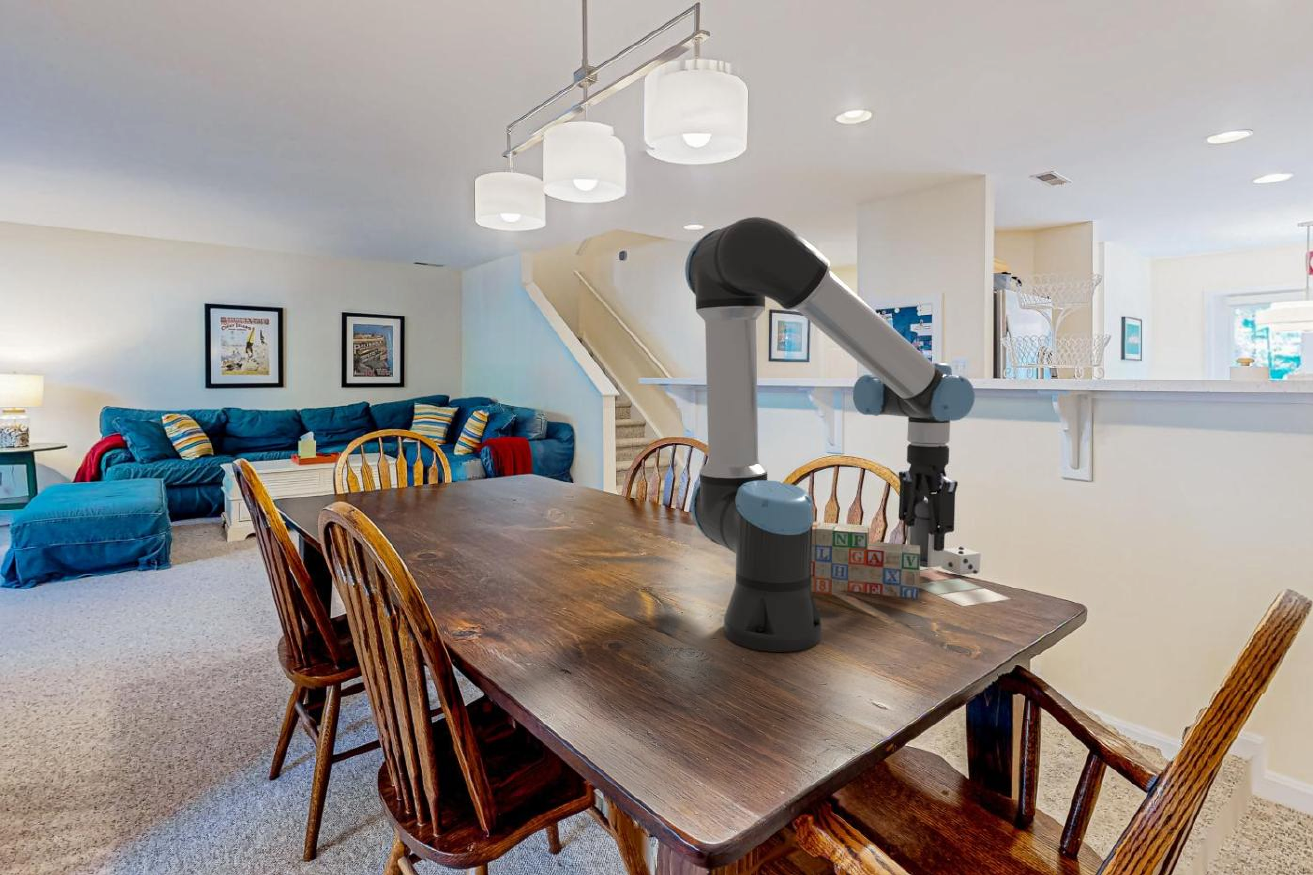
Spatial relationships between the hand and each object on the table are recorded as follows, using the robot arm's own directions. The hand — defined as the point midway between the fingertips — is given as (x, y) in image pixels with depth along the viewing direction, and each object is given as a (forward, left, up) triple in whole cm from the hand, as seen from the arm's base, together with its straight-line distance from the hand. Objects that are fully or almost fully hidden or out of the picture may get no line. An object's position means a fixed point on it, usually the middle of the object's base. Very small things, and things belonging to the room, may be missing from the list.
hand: (923, 561), depth 136 cm
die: (+10, +1, -4) cm, 11 cm away
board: (0, -3, -4) cm, 5 cm away
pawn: (0, 0, 0) cm, 0 cm away
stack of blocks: (-16, -1, -4) cm, 16 cm away
